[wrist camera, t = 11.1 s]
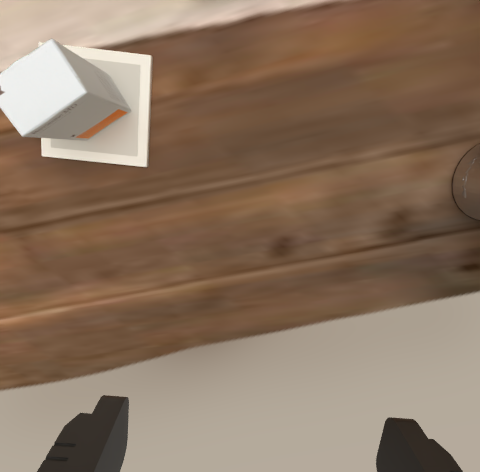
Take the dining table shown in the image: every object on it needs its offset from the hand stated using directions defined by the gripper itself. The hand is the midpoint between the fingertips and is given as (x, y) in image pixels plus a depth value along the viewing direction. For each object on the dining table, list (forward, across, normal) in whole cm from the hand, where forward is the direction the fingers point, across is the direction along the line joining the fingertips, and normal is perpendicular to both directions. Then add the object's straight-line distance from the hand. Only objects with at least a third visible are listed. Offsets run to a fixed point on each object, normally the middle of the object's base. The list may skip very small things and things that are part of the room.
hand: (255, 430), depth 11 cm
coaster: (+30, +16, -11) cm, 36 cm away
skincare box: (+29, +16, -11) cm, 35 cm away
